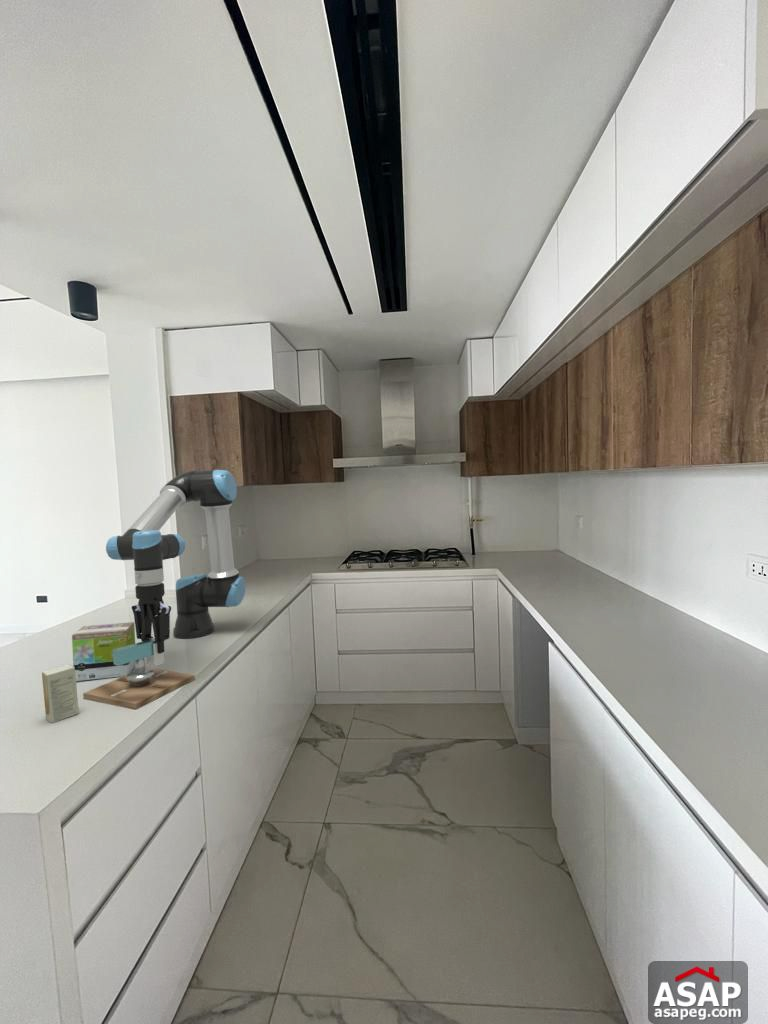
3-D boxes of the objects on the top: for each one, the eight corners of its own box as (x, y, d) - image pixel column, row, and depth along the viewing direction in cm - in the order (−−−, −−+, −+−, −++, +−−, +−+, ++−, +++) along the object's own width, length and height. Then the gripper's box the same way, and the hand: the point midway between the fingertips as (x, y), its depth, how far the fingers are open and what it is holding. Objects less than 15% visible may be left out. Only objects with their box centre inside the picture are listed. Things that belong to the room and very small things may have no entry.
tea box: (73, 683, 139) (70, 634, 138) (85, 671, 148) (82, 625, 148) (129, 676, 143) (126, 628, 142) (137, 665, 152) (134, 620, 152)
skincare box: (73, 709, 121) (70, 663, 121) (79, 713, 118) (76, 666, 118) (43, 719, 116) (40, 670, 116) (49, 724, 113) (46, 674, 113)
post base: (145, 671, 146) (145, 662, 146) (194, 679, 138) (194, 669, 138) (83, 698, 128) (82, 687, 127) (135, 709, 120) (135, 698, 120)
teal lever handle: (110, 682, 129) (108, 645, 129) (156, 667, 140) (154, 633, 140) (123, 688, 125) (121, 649, 125) (169, 672, 136) (167, 636, 136)
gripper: (118, 585, 135) (123, 665, 136) (159, 586, 129) (164, 670, 130) (140, 580, 142) (145, 656, 143) (180, 582, 136) (185, 661, 137)
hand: (154, 663), depth 136 cm, fingers open, 3 cm apart
